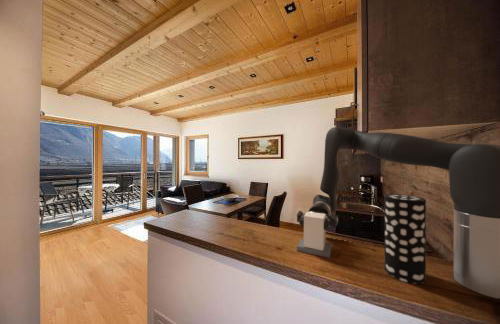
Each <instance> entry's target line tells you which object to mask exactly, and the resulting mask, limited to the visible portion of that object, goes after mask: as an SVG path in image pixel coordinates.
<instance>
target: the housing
mask: <svg viewBox="0 0 500 324" xmlns="http://www.w3.org/2000/svg"><path fill="white" fill-rule="evenodd" d="M304 214H305V215H304V226H303V239H304V247H308V248H313V249H317V250H322V251H323V249H324V246H325V243H326V230H324V221H325V218H326V214H321V213H314V212H309V211H307V212H305V213H304Z"/></svg>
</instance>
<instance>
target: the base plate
mask: <svg viewBox="0 0 500 324" xmlns="http://www.w3.org/2000/svg"><path fill="white" fill-rule="evenodd" d="M296 251H297V252H301V253H305V254H309V255H314V256H320V257H324V258H328V259H330V257H331V252H332V243H329V242H325V246H324V249H323V251H322V250H317V249H313V248H308V247H304V238H301V239H300V240H299V242H298V243H297V245H296Z"/></svg>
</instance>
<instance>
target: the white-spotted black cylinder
mask: <svg viewBox="0 0 500 324" xmlns="http://www.w3.org/2000/svg"><path fill="white" fill-rule="evenodd" d="M426 209H427V199H426V198H424V197H420V196H415V195H408V194H385V195H384V271H385V272H386V273H387V274H388V275H390V276H391V277H393V278H395V279H396V280H398V281H400V282H401V281H402V282H404V283H409V284H414V285H421V284H424V283H425V282H426V279H427V277H426V276H427V273H426V272H427V266H426V265H427V256H426V254H427V251H426V250H427V243H426V242H427V238H426V237H427V230H426V229H427V210H426Z"/></svg>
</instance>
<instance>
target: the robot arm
mask: <svg viewBox="0 0 500 324" xmlns="http://www.w3.org/2000/svg"><path fill="white" fill-rule="evenodd" d="M324 143H325V144H324V161H323V163H324V164H323V172H322V177H321V181H320V185H319V189H320V191H321V192H322V193H324V194H326V196H325V195H323V194H316V195H315V196H314V197H313V201H312V205H311V206H310V208H309V209H308V212H314V213H321V214H326V218H325V221H324V230H325V231H326V230H327V229H330V227H332V228H336V227H337V225H338V223H339V216H338V215H337V214H334V215H332V216H331V214H333V213H335V211H336V210H337V207H338V205H337V190H338V189H337V188H338V186H339V180H340V171H339V168H338V163H337V155H338V151H339V150H357V151H360V152H361V151H362V152H365V153H367V154H369V155H370V156H373V157H375V158H376V159H380V160H384V161H387V162H392V163H396V164H403V165H411V166H419V167H420V166H421V167H423V166H424V167H432V168H437V169H442V170H446V171H448V181H449V195H450V198H451V200H452V202H453V278H454V280H455V281H456V282H457V283H458V284H460V285H462V286H463V287H465V288H466V289H469V290H471V291H473V292H476V293H478V294H480V295H483V296H486V297H490V298H493V299H498V298H499V300H500V144H498V145H497V144H490V143H488V144H487V143H474V144H472V143H471V144H470V143H456V142H455V143H454V142H453V143H452V142H445V141H444V142H443V141H439V140H434V139H430V138H424V137H420V136H415V135H408V134H403V133H393V132H365V131H360V130H357V129H353V128H350V127H349V128H348V127H339V126H337V127H335V126H334V127H331V128H330V129H329V130H328V131H327V132H326V136H325V140H324ZM327 195H328V196H327ZM305 214H306V213H305V212H303V211H302V210H299V211H298V212H297V214H296V222H297V223H298V224H299V225H300V227H304V215H305Z"/></svg>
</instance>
